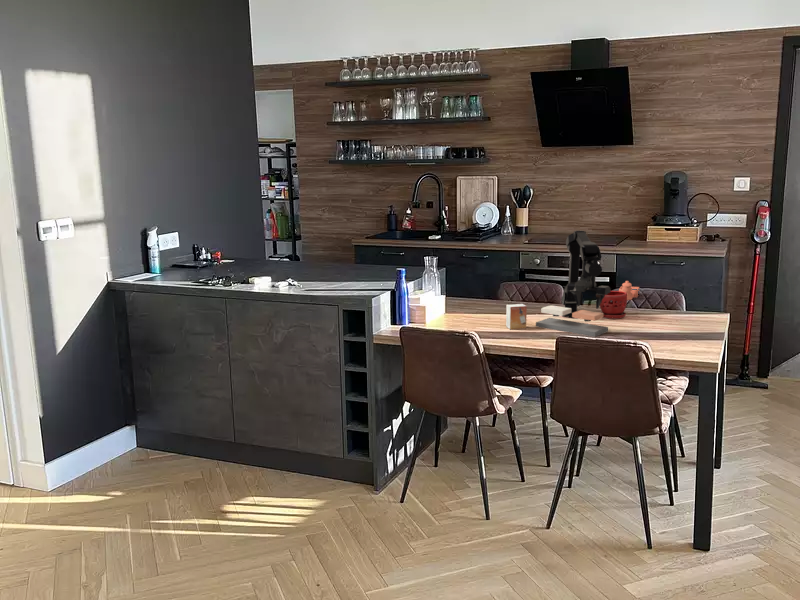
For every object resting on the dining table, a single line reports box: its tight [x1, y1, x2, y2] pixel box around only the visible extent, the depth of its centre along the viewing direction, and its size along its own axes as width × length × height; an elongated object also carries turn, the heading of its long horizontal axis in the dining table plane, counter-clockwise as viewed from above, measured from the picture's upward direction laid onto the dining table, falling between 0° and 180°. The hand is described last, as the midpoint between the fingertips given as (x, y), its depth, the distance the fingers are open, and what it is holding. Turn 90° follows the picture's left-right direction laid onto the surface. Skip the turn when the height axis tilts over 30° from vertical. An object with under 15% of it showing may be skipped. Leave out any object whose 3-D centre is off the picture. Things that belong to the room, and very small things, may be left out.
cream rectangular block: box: [540, 305, 572, 318], centre depth 360 cm, size 8×11×4 cm
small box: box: [505, 303, 528, 330], centre depth 360 cm, size 8×6×10 cm
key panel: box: [535, 317, 609, 337], centre depth 356 cm, size 12×30×2 cm, turn 48°
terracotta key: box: [572, 309, 604, 322], centre depth 350 cm, size 8×11×4 cm
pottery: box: [618, 280, 640, 301], centre depth 424 cm, size 18×10×10 cm, turn 156°
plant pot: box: [599, 290, 628, 320], centre depth 377 cm, size 13×13×12 cm
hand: (587, 307), depth 349 cm, fingers open, 9 cm apart
